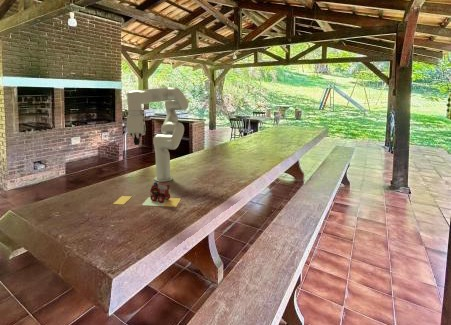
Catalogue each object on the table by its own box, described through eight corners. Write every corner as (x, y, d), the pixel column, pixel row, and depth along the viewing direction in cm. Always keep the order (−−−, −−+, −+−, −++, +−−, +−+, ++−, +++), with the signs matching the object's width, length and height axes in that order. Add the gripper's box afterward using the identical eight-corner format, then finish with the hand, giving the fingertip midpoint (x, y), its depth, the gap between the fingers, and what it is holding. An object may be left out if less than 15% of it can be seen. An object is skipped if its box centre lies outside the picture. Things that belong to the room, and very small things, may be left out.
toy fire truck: (155, 196, 170) (154, 179, 167) (172, 200, 165) (172, 182, 162) (147, 200, 164) (146, 182, 161) (165, 204, 159) (164, 186, 156)
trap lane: (121, 196, 170) (121, 196, 170) (181, 198, 168) (181, 198, 167) (112, 204, 158) (112, 203, 158) (176, 206, 156) (176, 206, 156)
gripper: (149, 113, 170) (151, 143, 175) (125, 112, 171) (127, 143, 176) (145, 114, 163) (147, 146, 168) (119, 113, 164) (121, 145, 169)
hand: (136, 144), depth 172 cm, fingers closed
